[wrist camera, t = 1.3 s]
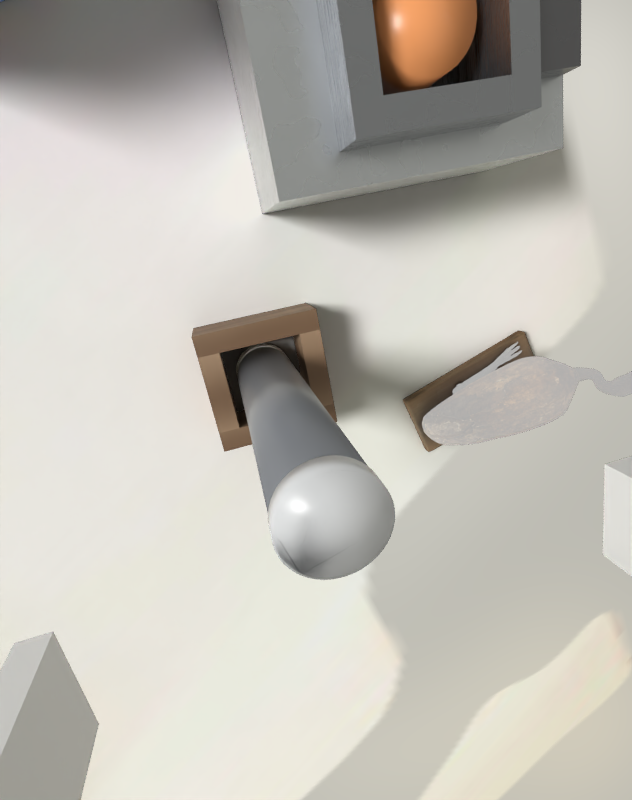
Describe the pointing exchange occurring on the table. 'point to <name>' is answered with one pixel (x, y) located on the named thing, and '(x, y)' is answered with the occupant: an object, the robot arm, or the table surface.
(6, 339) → the table surface
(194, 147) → the table surface
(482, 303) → the table surface
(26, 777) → the robot arm
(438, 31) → the button
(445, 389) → the figurine
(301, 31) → the grey box with opening
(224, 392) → the wooden square hollow frame
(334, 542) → the grey tube
